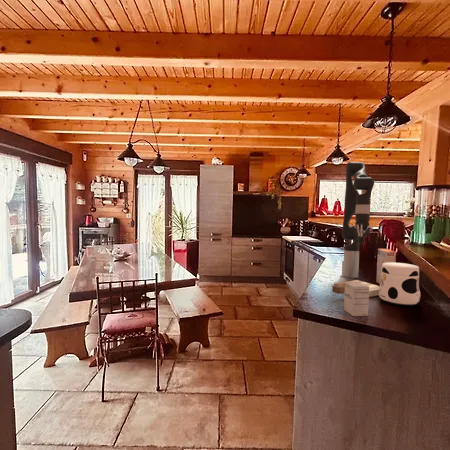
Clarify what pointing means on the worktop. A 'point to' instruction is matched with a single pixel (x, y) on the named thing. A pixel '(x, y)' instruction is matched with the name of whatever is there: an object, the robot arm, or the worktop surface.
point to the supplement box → (356, 298)
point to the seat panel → (372, 288)
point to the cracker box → (384, 261)
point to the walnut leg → (338, 289)
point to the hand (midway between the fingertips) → (361, 242)
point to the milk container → (400, 284)
